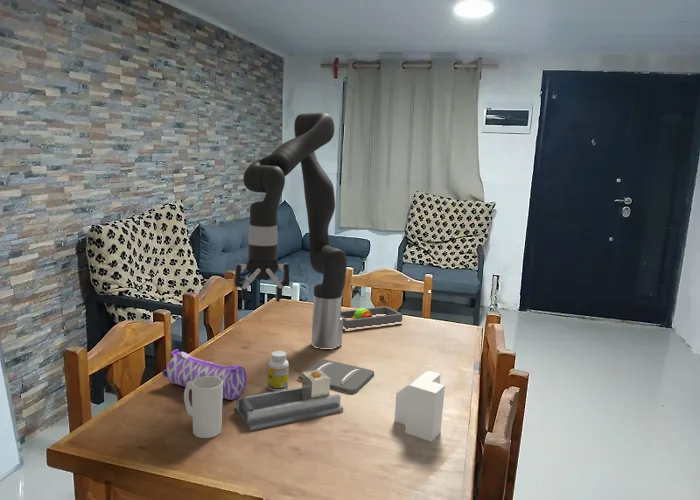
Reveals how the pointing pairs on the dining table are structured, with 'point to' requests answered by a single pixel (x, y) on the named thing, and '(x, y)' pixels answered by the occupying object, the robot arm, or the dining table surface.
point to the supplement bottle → (278, 371)
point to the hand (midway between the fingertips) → (261, 301)
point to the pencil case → (205, 373)
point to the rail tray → (290, 403)
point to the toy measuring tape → (362, 313)
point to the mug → (205, 405)
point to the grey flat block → (342, 375)
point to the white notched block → (421, 406)
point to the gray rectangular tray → (390, 317)
